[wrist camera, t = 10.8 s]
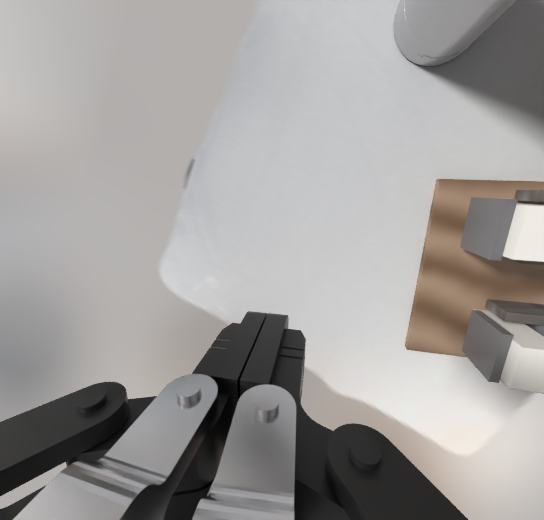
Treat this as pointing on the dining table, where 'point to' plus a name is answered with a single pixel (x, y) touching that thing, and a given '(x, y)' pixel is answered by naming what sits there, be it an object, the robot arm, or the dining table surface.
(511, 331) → the button
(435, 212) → the button board
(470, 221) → the button
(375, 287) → the dining table surface
